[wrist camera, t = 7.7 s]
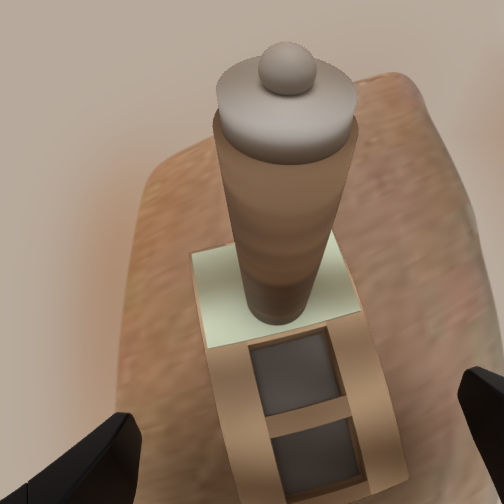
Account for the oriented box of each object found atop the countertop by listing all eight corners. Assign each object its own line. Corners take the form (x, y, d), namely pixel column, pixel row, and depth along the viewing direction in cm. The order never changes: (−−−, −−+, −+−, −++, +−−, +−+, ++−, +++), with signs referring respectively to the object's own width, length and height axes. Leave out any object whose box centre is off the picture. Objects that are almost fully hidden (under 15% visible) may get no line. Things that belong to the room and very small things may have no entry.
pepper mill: (315, 317, 17) (408, 85, 5) (253, 332, 17) (211, 105, 4) (298, 261, 19) (332, 14, 6) (240, 275, 18) (192, 28, 6)
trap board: (397, 473, 14) (411, 479, 12) (249, 515, 14) (246, 528, 12) (325, 236, 22) (330, 219, 20) (195, 266, 21) (187, 251, 19)
